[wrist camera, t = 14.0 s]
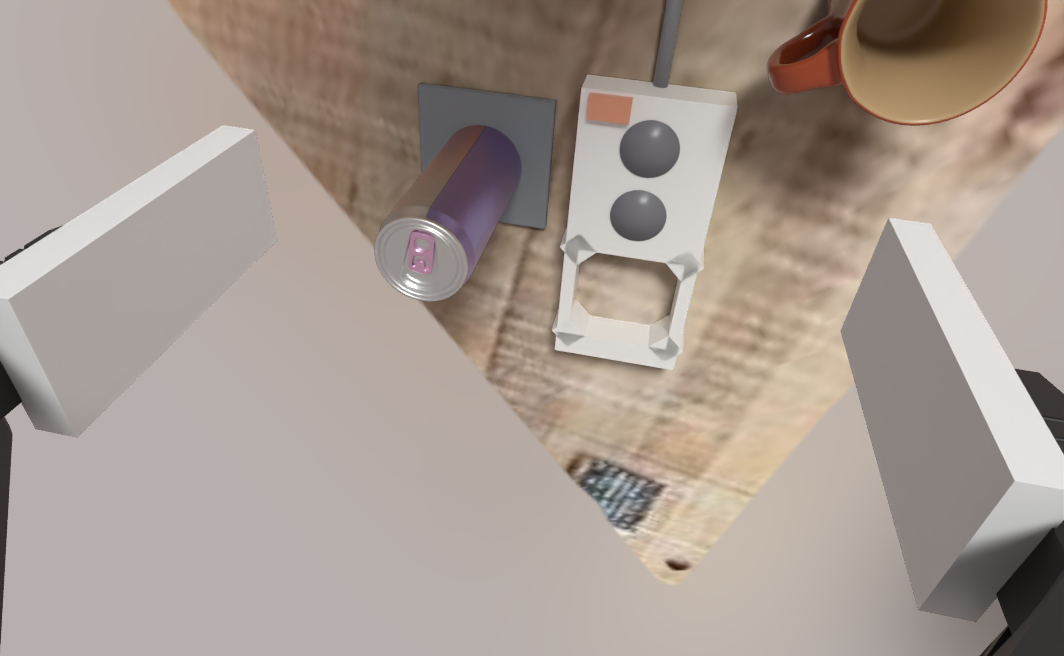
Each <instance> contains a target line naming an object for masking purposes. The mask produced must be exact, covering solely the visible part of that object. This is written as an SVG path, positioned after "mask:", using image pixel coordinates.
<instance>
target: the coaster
mask: <svg viewBox="0 0 1064 656" xmlns="http://www.w3.org/2000/svg"><path fill="white" fill-rule="evenodd" d="M418 99H419V123H420V146H421V169H422V173H423V172H424V170H425V169H426V168H427V167H428V165H429V164H430V163H431V162H432V160H433V159H434V158H435V156H436V155H437V154H438V153H439V151H440V150H441V149H442V148H443V146H444V145H445V144H446V143H447V141H448V140H449V139H450V138H451V136H452V135H453V134H454V133H456V132H457V131H458V130H460V129H462V128H464V127H467V126H471V125H484V126H489V127H492V128H494V129H497V130H498V131H500V132H502V133H503V134H504V135H506V136H507V137H508V138H509V139H510V140H511V141H512V143H513V144H514V145H515V147H516V149H517V151H518V153H519V156H520V160H521V176H520V179H519V182H518V184H517V186H516V188H515V190H514V192H513V194H512V196H511V198H510V200H509V202H508V204H507V206H506V208H505V210H504V212H503V214H502V216H501V217H500V219H499V221H498V222H502V223H509V224H516V225H522V226H529V227H536V228H542V229H545V227H546V223H547V210H548V198H549V186H550V173H551V161H552V149H553V136H554V124H555V112H556V100H553V99H545V98H537V97H529V96H521V95H513V94H505V93H498V92H490V91H482V90H474V89H466V88H458V87H450V86H442V85H434V84H426V83H420V84H419V85H418Z"/></svg>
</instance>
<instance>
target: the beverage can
mask: <svg viewBox="0 0 1064 656" xmlns="http://www.w3.org/2000/svg"><path fill="white" fill-rule="evenodd" d="M520 176H521V160H520V156H519V153H518V151H517V149H516V147H515V145H514V144H513V143H512V141H511V140H510V139H509V138H508V137H507V136H506V135H504V134H503V133H502V132H500V131H498V130H497V129H494V128H492V127H489V126H484V125H471V126H467V127H464V128H462V129H460V130H458V131H457V132H456V133H454V134H453V135H452V136H451V138H450V139H449V140H448V141H447V143H446V144H445V145H444V146H443V148H442V149H441V150H440V151H439V153H438V154H437V155H436V156H435V158H434V159H433V160H432V162H431V163H430V164H429V165H428V167H427V168H426V169H425V170H424V172H423V173H422V174H421V175H420V177H419V178H418V179H417V180H416V182H415V183H414V184H413V185H412V187H411V188H410V189H409V190H408V192H407V193H406V194H405V195H404V197H403V198H402V199H401V200H400V202H399V203H398V204H397V205H396V207H395V208H394V209H393V210H392V212H391V213H390V214H389V215H388V217H387V218H386V219H385V221H384V222H383V224H382V225H381V228H380V231H379V234H378V236H377V239H376V242H375V247H374V254H375V260H376V263H377V266H378V268H379V270H380V272H381V274H382V275H383V277H384V278H385V279H386V281H387V282H388V283H389V284H390V285H391V286H392V287H394V288H395V289H396V290H398V291H399V292H400V293H402V294H404V295H406V296H408V297H410V298H413V299H416V300H421V301H439V300H443V299H446V298H448V297H450V296H452V295H454V294H455V293H456V292H457V291H458V290H459V289H460V288H461V287H462V286H463V285H464V284H465V283H466V282H467V281H468V280H469V278H470V277H471V275H472V273H473V271H474V269H475V267H476V265H477V263H478V261H479V259H480V257H481V255H482V253H483V251H484V249H485V247H486V245H487V243H488V241H489V239H490V237H491V235H492V233H493V231H494V229H495V227H496V225H497V223H498V221H499V219H500V217H501V216H502V214H503V212H504V210H505V208H506V206H507V204H508V202H509V200H510V198H511V196H512V194H513V192H514V190H515V188H516V186H517V184H518V182H519V179H520Z"/></svg>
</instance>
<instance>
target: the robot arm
mask: <svg viewBox="0 0 1064 656" xmlns="http://www.w3.org/2000/svg"><path fill="white" fill-rule="evenodd" d="M276 241H277V238H276V233H275V228H274V223H273V218H272V213H271V207H270V203H269V197H268V192H267V187H266V182H265V177H264V171H263V167H262V161H261V156H260V151H259V146H258V141H257V136H256V130H253V129H246V128H239V127H232V126H224V125H222V126H221V127H219V128H217V129H216V130H214V131H213V132H211V133H210V134H208V135H207V136H205V137H203V138H202V139H200V140H199V141H197V142H195V143H194V144H192V145H191V146H189V147H187V148H186V149H184V150H183V151H181V152H180V153H178V154H176V155H175V156H173V157H171V158H170V159H168V160H167V161H165V162H163V163H162V164H160V165H159V166H157V167H156V168H154V169H152V170H151V171H149V172H148V173H146V174H144V175H143V176H141V177H140V178H138V179H137V180H135V181H133V182H132V183H130V184H129V185H127V186H125V187H124V188H122V189H121V190H119V191H118V192H116V193H115V194H113V195H111V196H110V197H108V198H106V199H105V200H103V201H102V202H100V203H98V204H97V205H95V206H94V207H92V208H90V209H89V210H87V211H86V212H84V213H83V214H81V215H79V216H78V217H76V218H75V219H73V220H72V221H70V222H68V223H67V224H65V225H63V226H60V227H57V228H55V229H52V230H49V231H47V232H45V233H44V234H42V235H41V236H39V237H38V238H36V239H34V240H33V241H31V242H29V243H28V244H26V245H25V246H24V249H18V250H17V251H15V252H13V253H12V254H10V255H9V256H7V257H5V261H4V262H3V261H0V643H1V626H2V608H3V590H4V572H5V554H6V538H7V520H8V502H9V485H10V467H11V450H12V432H11V429H10V426H9V424H8V422H7V421H6V419H5V417H4V416H6V415H7V414H8V413H9V412H10V411H11V410H13V409H14V408H15V407H16V406H17V405H18V404H20V403H22V405H23V407H24V409H25V411H26V412H27V414H28V416H29V418H30V420H31V421H32V423H33V425H34V427H35V429H38V430H43V431H48V432H53V433H57V434H62V435H67V436H72V437H78V436H79V435H80V434H81V433H83V432H84V431H85V430H86V429H87V427H88V426H90V425H91V424H92V423H93V422H94V421H95V420H96V419H97V418H98V417H99V416H100V415H101V414H102V412H104V411H105V410H106V409H107V408H108V407H109V406H110V405H111V404H112V403H113V402H114V401H115V400H116V399H117V398H118V397H119V396H120V395H121V394H122V393H123V392H124V391H125V390H126V389H127V388H128V387H129V386H130V385H131V384H132V383H133V382H134V381H135V380H136V379H137V378H138V377H139V376H140V375H141V374H142V373H143V372H144V371H145V370H146V369H147V368H148V367H150V366H151V365H152V364H153V363H154V361H155V360H157V359H158V358H159V357H160V356H161V355H162V354H163V353H164V352H165V351H166V350H167V349H168V348H169V347H170V346H171V345H172V344H173V343H174V342H175V341H176V340H177V339H178V338H179V337H180V336H181V335H182V334H183V333H184V332H185V331H186V330H187V329H188V328H189V327H190V326H191V325H192V324H193V323H194V322H195V321H196V320H197V319H198V318H199V317H200V316H201V315H202V314H203V313H204V312H205V311H206V310H207V309H208V308H209V307H210V306H211V305H212V304H214V302H216V301H217V300H218V299H219V298H220V297H221V296H222V295H223V294H224V293H225V292H226V291H227V290H228V289H229V288H230V287H231V286H232V285H233V284H234V283H235V282H236V281H237V280H238V279H239V278H240V277H241V276H242V275H243V274H244V273H245V272H246V271H247V270H248V269H249V268H250V267H251V266H252V265H253V264H254V263H255V262H256V261H257V260H258V259H259V258H260V257H261V256H262V255H263V254H264V253H265V252H266V251H267V250H268V249H269V248H270V247H271V246H272V245H273V244H274V243H275V242H276ZM841 334H842V338H843V341H844V345H845V348H846V352H847V356H848V359H849V363H850V366H851V370H852V374H853V377H854V381H855V384H856V388H857V391H858V395H859V399H860V402H861V406H862V410H863V413H864V417H865V420H866V424H867V428H868V431H869V435H870V438H871V442H872V446H873V449H874V453H875V456H876V460H877V464H878V467H879V471H880V474H881V478H882V482H883V485H884V489H885V492H886V496H887V499H888V503H889V507H890V510H891V514H892V518H893V521H894V525H895V528H896V532H897V536H898V539H899V543H900V546H901V550H902V554H903V557H904V561H905V564H906V568H907V572H908V575H909V579H910V582H911V586H912V590H913V593H914V597H915V600H916V604H917V608H918V610H920V611H925V612H930V613H935V614H940V615H945V616H950V617H954V618H960V619H964V620H969V621H974V622H976V621H977V620H978V619H979V618H980V617H981V616H982V614H983V613H984V612H985V611H986V609H988V607H989V606H990V605H991V604H992V603H993V602H994V600H995V599H996V598H998V600H999V603H1000V606H1001V608H1002V611H1003V613H1004V616H1005V619H1006V621H1007V624H1008V625H1007V627H1006V628H1005V629H1004V630H1003V631H1002V632H1001V633H1000V634H999V635H998V637H996V639H995V640H994V641H993V642H992V643H991V644H990V645H989V646H988V647H987V648H986V649H985V650H984V652H983V653H982V654H981V655H980V656H1064V394H1063V393H1062V392H1061V391H1060V390H1058V389H1057V388H1056V387H1055V386H1053V384H1051V383H1050V382H1049V381H1048V380H1047V379H1045V378H1044V377H1043V376H1042V375H1041V374H1040V373H1038V372H1031V371H1025V370H1019V369H1014V368H1013V366H1012V364H1011V362H1010V361H1009V359H1008V357H1007V356H1006V354H1005V352H1004V350H1003V349H1002V347H1001V345H1000V344H999V342H998V340H997V338H996V337H995V335H994V333H993V331H992V330H991V328H990V326H989V324H988V323H987V321H986V319H985V318H984V316H983V314H982V312H981V311H980V309H979V307H978V305H977V304H976V302H975V300H974V298H973V297H972V295H971V293H970V291H969V290H968V288H967V286H966V285H965V283H964V281H963V279H962V278H961V276H960V274H959V272H958V271H957V269H956V267H955V265H954V264H953V262H952V260H951V259H950V257H949V255H948V253H947V252H946V250H945V248H944V246H943V245H942V243H941V241H940V239H939V238H938V236H937V234H936V233H935V231H934V229H933V227H932V226H931V224H929V223H922V222H915V221H908V220H901V219H894V218H888V220H887V223H886V225H885V228H884V230H883V232H882V235H881V237H880V239H879V242H878V244H877V246H876V249H875V251H874V253H873V256H872V258H871V261H870V263H869V265H868V268H867V270H866V272H865V275H864V277H863V279H862V282H861V284H860V287H859V289H858V291H857V294H856V296H855V298H854V301H853V303H852V305H851V308H850V310H849V312H848V315H847V317H846V320H845V322H844V324H843V327H842V329H841Z"/></svg>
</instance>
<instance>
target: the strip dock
mask: <svg viewBox="0 0 1064 656" xmlns="http://www.w3.org/2000/svg"><path fill="white" fill-rule="evenodd" d="M682 4H683V0H667V2H666V8H665V14H664V20H663V26H662V32H661V38H660V45H659V51H658V57H657V63H656V69H655V75H654V81H653V82H646V81H638V80H630V79H622V78H613V77H605V76H597V75H588V74H587V77H586V79H585V81H584V83H583V86H582V88H581V97H580V107H579V117H578V127H577V137H576V146H575V156H574V166H573V176H572V185H571V195H570V205H569V215H568V225H567V228H566V230H565V233H564V236H563V239H562V242H561V245H560V248H561V249H562V250H563V251H564V252H565V254H564V264H563V273H562V283H561V293H560V303H559V309H558V311H557V314H556V317H555V321H554V324H553V328H552V331H553V332H554V333H555V334H556V342H555V350H558V351H564V352H570V353H576V354H582V355H587V356H593V357H599V358H605V359H611V360H617V361H622V362H628V363H634V364H640V365H646V366H652V367H657V368H663V369H669V370H673V369H674V365H675V361H676V357H677V355H679V354H681V353H683V336H684V330H683V328H684V324H685V320H686V316H687V312H688V308H689V304H690V300H691V296H692V292H693V288H694V284H695V280H696V275H697V273H698V272H699V271H701V270H703V269H704V248H703V247H704V243H705V239H706V235H707V231H708V227H709V222H710V218H711V214H712V210H713V206H714V202H715V198H716V194H717V190H718V186H719V182H720V178H721V174H722V169H723V165H724V161H725V157H726V153H727V149H728V145H729V141H730V137H731V133H732V129H733V125H734V121H735V116H736V112H737V108H738V105H737V97H736V92H729V91H721V90H713V89H704V88H696V87H688V86H680V85H671V84H668V83H669V77H670V71H671V66H672V60H673V55H674V49H675V44H676V38H677V32H678V27H679V21H680V16H681V10H682ZM595 253H603V254H610V255H616V256H623V257H630V258H636V259H643V260H649V261H656V262H662V263H666V264H667V265H668V267H669V268H670V269H671V270H672V271H673V273H674V274H675V275H676V276H677V278H678V281H677V285H676V290H675V294H674V299H673V303H672V308H671V312H670V315H668V316H666V317H664V318H662V319H661V320H659V321H657V322H655V323H653V324H651V325H646V324H640V323H634V322H628V321H622V320H616V319H610V318H604V317H598V316H591V315H589V314H588V312H587V311H586V310H585V309H584V308H583V307H582V306H581V305H580V304H579V303H578V301H577V300H576V299H575V298H576V290H577V282H578V273H579V265H580V263H581V262H583V261H584V260H586V259H587V258H589V257H590V256H592V255H594V254H595Z"/></svg>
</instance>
